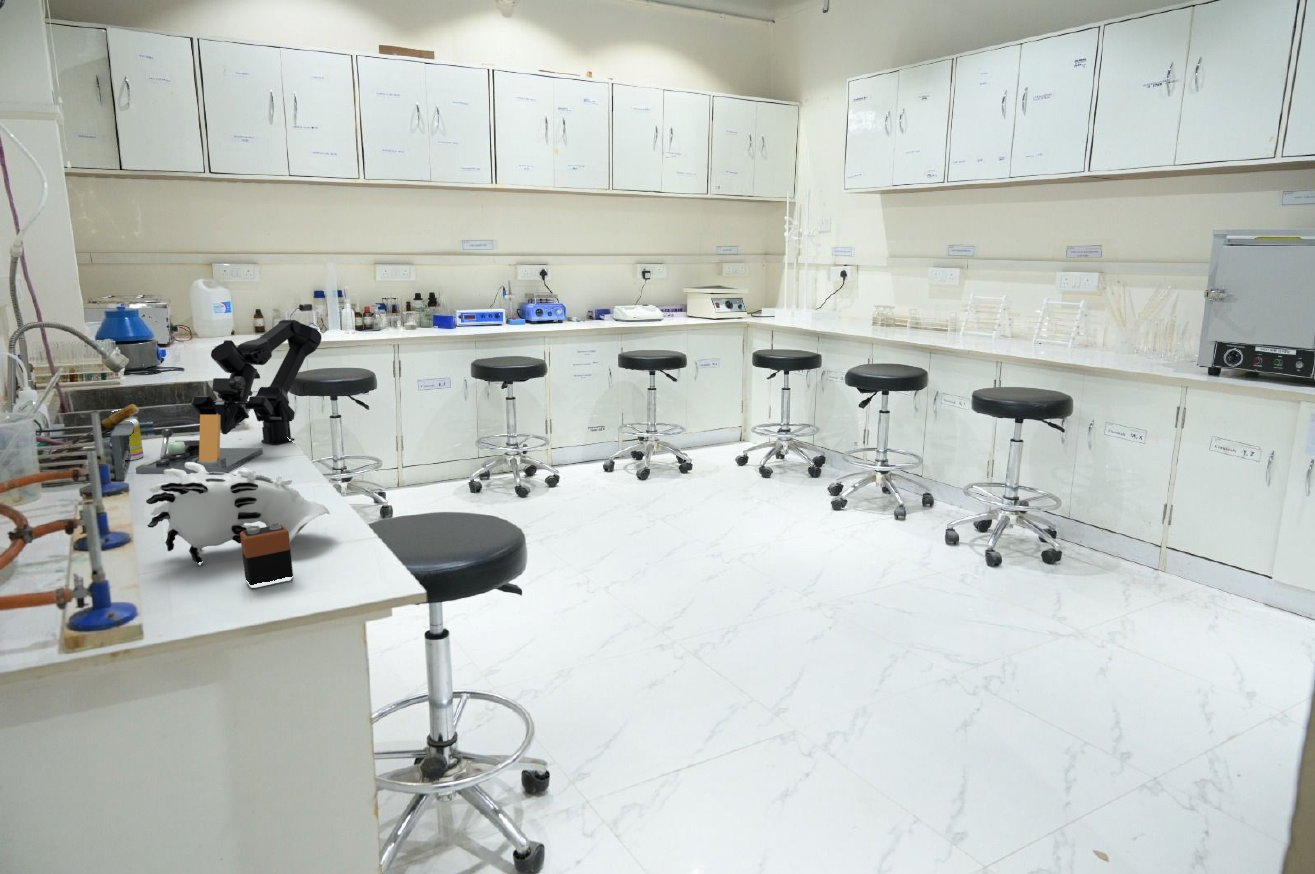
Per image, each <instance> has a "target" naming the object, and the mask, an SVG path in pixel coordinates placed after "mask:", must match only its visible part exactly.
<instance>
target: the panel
mask: <svg viewBox="0 0 1315 874" xmlns="http://www.w3.org/2000/svg"><path fill="white" fill-rule="evenodd" d="M263 454H264V451H263V448H261V447H252V448H251V447H247V448H246V447H220V459H218V460H217V463H218V467H205V470H206V471H207V472H208V473H209V472H222V473H229V472H231V471H233V470H235V469H236V470H237V468H240V467H241V466H244V465H245V464H246V463H249V462H250V461H252V460H254V459H256V458H257V457H260V456H261V455H263ZM198 460H199V445H191V446H185V453H182V454H168V452H166V458H165V459H161V458H160V456H158V457H156V458H153V459H151V460H148V461H146V462H144V463H142V464H140V465H139V466H136V467H135V473H136V474H140V475H141V474H143V475H144V474H148V475H149V474H155V475H156V474H159V475H160V474H161V475H162V474H163V475H165V474H164V470H166V469H172V468H174V469H178V470H184V471H185V472H186V473H187V475H189V474H190V473H198V472H196V471H194V470H190V469H187V468H185V463H186V462H194V463H197V461H198Z"/></svg>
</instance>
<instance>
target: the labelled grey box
mask: <svg viewBox="0 0 1315 874" xmlns="http://www.w3.org/2000/svg"><path fill="white" fill-rule="evenodd" d="M177 441H178V440H175V441H174V442H177ZM180 441H182V442H184V444H185V446H191V445H199V441H200V439H190V440H189V439H188V440H187V439H186V440H184V439H183V440H182V439H181V440H180Z"/></svg>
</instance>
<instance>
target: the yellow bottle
mask: <svg viewBox="0 0 1315 874" xmlns="http://www.w3.org/2000/svg"><path fill="white" fill-rule="evenodd" d="M118 410H121V408H120V409H115V410H111V412H114V411H118ZM126 421H130V422H132V423H133V424H134V433H133V434H132V435H131V437H130V452H131V459H132V460H131V461H134V460H135V461H136V460H139V459H142V457H144V449H143V442H142V435H141V429H140V422H139V420H137V419H136V418H130V419H129V420H126Z"/></svg>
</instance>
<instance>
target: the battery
mask: <svg viewBox="0 0 1315 874" xmlns="http://www.w3.org/2000/svg"><path fill="white" fill-rule="evenodd" d="M240 538H241V543H240V545H241V546H240V547H241V553H242V562H243V571H244V579H245V578H246V580H247V581H248V582H249V584H250V585H254V584H257V583H262V582H270V581H273V580H274V581H275V580H277V579H282V578H285V577H292V576H293V577H294V570H293V563H292V561H293V560H292V551H291V541H290V540H289V532H288V530H287V529H286V528H285V527H284V526H283V525H281V524H280V523H273V524H270V526H268V527H267V526H263V527H260V526H259V525H251V526H250V527H247V528H246V531H242V532H241V533H240ZM246 580H245V581H246Z"/></svg>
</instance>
